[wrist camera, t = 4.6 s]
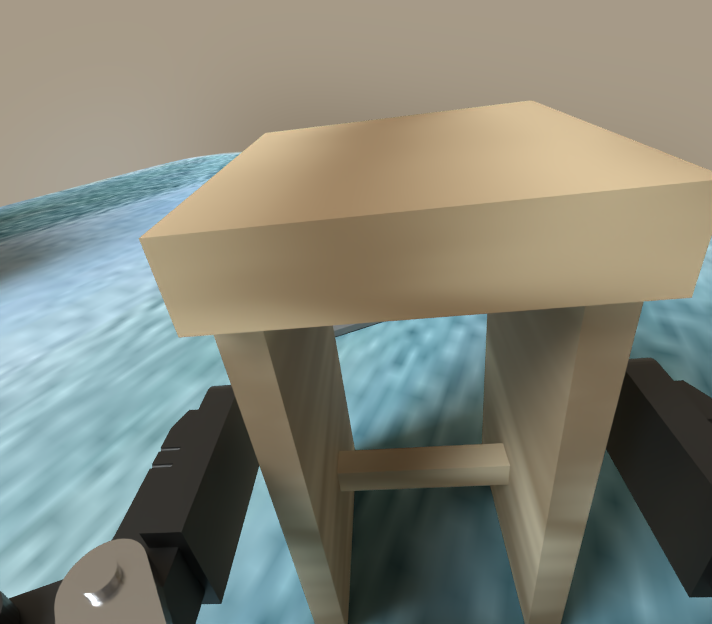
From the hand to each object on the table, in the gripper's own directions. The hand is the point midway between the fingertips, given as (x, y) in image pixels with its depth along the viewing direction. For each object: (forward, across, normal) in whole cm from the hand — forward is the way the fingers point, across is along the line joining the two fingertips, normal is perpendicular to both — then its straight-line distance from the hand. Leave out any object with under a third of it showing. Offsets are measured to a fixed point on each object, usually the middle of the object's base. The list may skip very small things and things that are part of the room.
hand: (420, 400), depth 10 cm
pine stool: (+1, 0, +7) cm, 7 cm away
